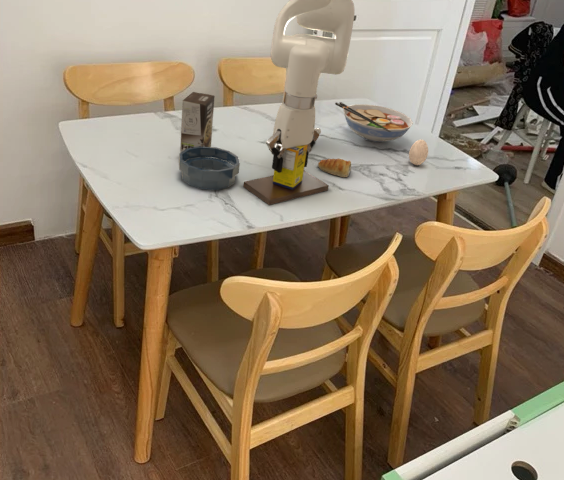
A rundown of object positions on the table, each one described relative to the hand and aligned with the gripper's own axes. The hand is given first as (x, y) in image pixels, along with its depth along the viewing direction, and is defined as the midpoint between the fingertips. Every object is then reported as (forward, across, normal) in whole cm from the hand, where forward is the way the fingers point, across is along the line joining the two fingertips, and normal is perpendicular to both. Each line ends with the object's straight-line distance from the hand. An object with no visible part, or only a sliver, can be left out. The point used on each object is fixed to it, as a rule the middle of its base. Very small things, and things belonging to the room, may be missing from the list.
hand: (289, 167), depth 155 cm
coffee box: (+6, +10, -28) cm, 30 cm away
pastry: (+6, -20, -2) cm, 22 cm away
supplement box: (+5, 0, 0) cm, 5 cm away
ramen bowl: (+6, -52, -18) cm, 55 cm away
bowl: (+6, +16, -14) cm, 21 cm away
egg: (+6, -48, +4) cm, 49 cm away
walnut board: (+6, 0, 0) cm, 6 cm away
